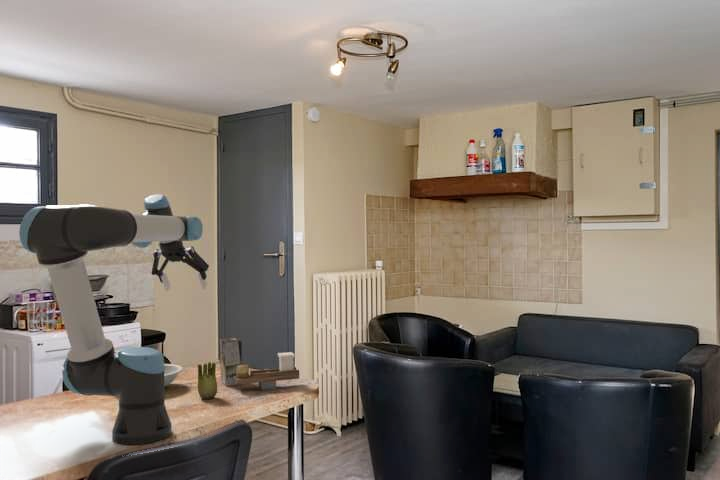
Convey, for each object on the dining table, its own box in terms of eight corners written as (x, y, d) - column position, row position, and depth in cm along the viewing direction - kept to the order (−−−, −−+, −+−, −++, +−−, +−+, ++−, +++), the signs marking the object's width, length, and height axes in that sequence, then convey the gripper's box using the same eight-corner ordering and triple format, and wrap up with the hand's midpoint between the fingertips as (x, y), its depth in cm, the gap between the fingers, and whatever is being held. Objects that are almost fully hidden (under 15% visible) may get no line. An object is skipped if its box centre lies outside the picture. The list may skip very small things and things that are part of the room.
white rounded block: (295, 374, 213) (295, 354, 212) (280, 375, 211) (280, 355, 211) (291, 371, 218) (291, 352, 218) (277, 372, 216) (277, 353, 216)
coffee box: (242, 384, 218) (242, 340, 218) (225, 386, 215) (224, 342, 215) (237, 379, 226) (236, 336, 226) (220, 381, 223) (219, 338, 223)
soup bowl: (191, 380, 225) (191, 363, 225) (170, 397, 201) (170, 378, 201) (128, 381, 225) (128, 363, 225) (99, 398, 201) (99, 378, 201)
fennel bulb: (196, 400, 197) (196, 363, 197) (202, 396, 202) (201, 360, 202) (214, 400, 197) (213, 363, 197) (218, 396, 202) (218, 360, 202)
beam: (299, 387, 212) (299, 363, 212) (237, 393, 205) (236, 368, 205) (295, 383, 219) (295, 359, 219) (234, 388, 212) (234, 364, 212)
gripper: (207, 229, 203) (222, 278, 214) (138, 234, 206) (157, 283, 217) (200, 241, 197) (217, 291, 208) (129, 246, 200) (149, 296, 211)
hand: (186, 287), depth 213 cm, fingers open, 13 cm apart
